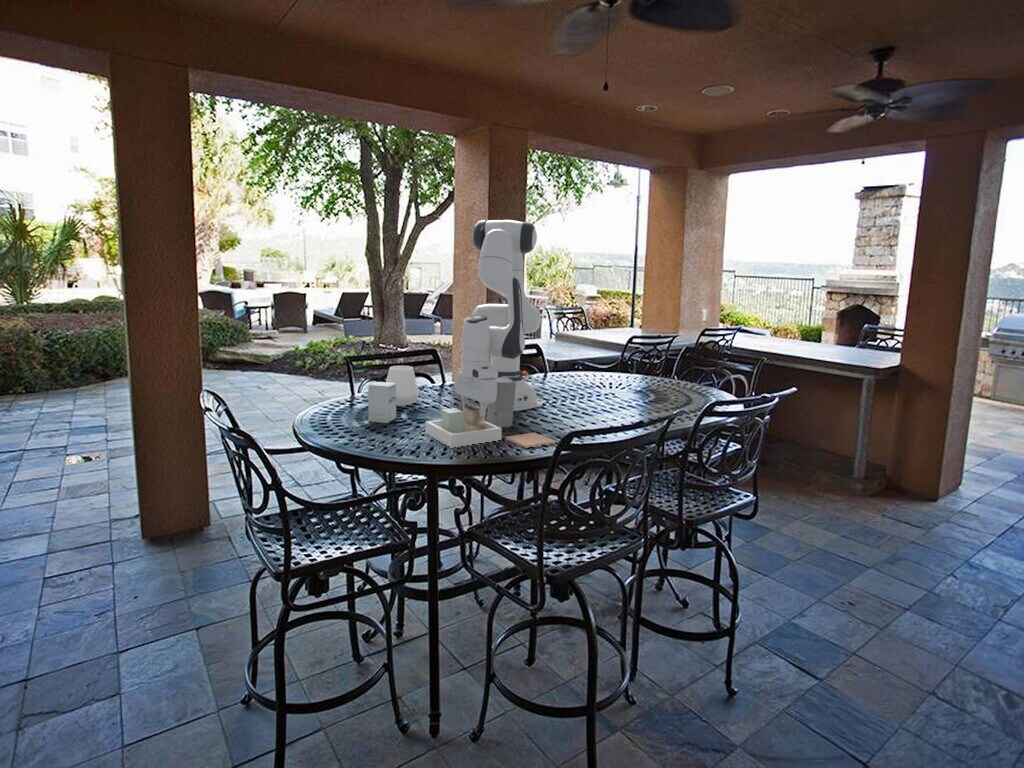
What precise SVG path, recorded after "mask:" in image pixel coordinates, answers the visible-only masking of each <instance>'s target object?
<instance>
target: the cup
mask: <svg viewBox="0 0 1024 768" xmlns="http://www.w3.org/2000/svg"><path fill="white" fill-rule="evenodd" d="M385 381H386V382H390V383H396V405H397V406H396V407H406V405H409V406H412V405H414V404H413V403H415V402H416V400H417V399H418V397H419V394H420V392H419V387H418V386H419V385H418V382H417V378H416V375H415V372H414V368H413V366H410V365H393V366H390V367H389V369H388V373H387V377H386V380H385ZM411 404H412V405H411Z"/></svg>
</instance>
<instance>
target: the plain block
mask: <svg viewBox="0 0 1024 768" xmlns="http://www.w3.org/2000/svg"><path fill="white" fill-rule="evenodd" d="M440 420H441V428H443V429H445V430H447V431H449V432H451V433H453V434H454V433H461V432H463V426H464V411H463V410H462V409H459V408H457V407H453V408H444V409H441V419H440Z"/></svg>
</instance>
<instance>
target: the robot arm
mask: <svg viewBox="0 0 1024 768" xmlns="http://www.w3.org/2000/svg"><path fill="white" fill-rule="evenodd" d="M471 234H472V237H471V238H472V241H473V242H472V243H473V246H474V247H475V248H476V249H477V250H479V251H480V252H479V253H480V254H479V259H478V265H477V276H478V279H479V280H480V282H481V283H482V284H483V286H484V287H486V288H488V289H489V290H490V291H491V292H494V293H497V294H498V295H500V296H502V297H503V298H505V299H507V303H483V304H478V305H477V306H476V307H475V308H474V309H473V312H472V313H471V316H466V317H465V318H464V320H463V323H462V329H461V340H460V341H461V342H460V343H461V350H462V352H461V353H462V354H461V356H460V365H459V367H458V368H457V371H456V373H455V377H454V393H455V394H457V395H460V398H461V402H462V408H463V407H466V406H471V404H470V402H469V399H471V400H474V401H476V402H479V405H480V406H479V407H480V410H478V415H479V416H485V417H486V411H487V410H488V404H491V403H495V401H496V398H497V381H496V379H495V378H497V377H507V378H509V379H511V380H512V381H514V382H516V389H515V399H514V410H513V412H519V411H525V410H530V409H534V408H540V407H543V402H541V401H539V400H537V399H538V398H537V392H536V389H535V388H534V387H533V386H532V385H530V384H529V383H528V382H527V381H525V380H524V378H523V377H525V378H526V377H527V378H528V371H526V370H523V371H522V370H521V369H520V365H521V364H520V361H521V359H520V358H521V355H522V354H523V353H524V351H525V347H526V339H525V334H531V333H535V332H537V331H538V329H539V328H540V326H541V323H542V315H541V312H540V311H539V309H538V308H537V307H536V306H535V305H533V303H532V302H531V301H530V300H529V299H528V297H527V295H526V291H525V287H524V256H525V255H526V254H528V253H530V252H531V251H533V250H534V249H535V246H536V245H537V240H538V238H537V237H538V234H537V231H536V227H535V226H534V224H533V223H532V222H528V221H521V220H520V221H518V220H512V219H491V220H488V219H481V220H478V221H477V222H476V223H475V225H474V226H473V230H472V233H471Z"/></svg>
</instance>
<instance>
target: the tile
mask: <svg viewBox="0 0 1024 768" xmlns="http://www.w3.org/2000/svg"><path fill="white" fill-rule="evenodd" d="M506 439H507V440H509V441H511V442H513V443H512V444H514V443H516V444H518V445H520V446H523V447H525V448H529V447H534V446H539V445H546V444H555V445H556V440H553V439H551V438H550V437H546V436H544V435H542V434H539V433H537V432H528V433H523V434H516V435H509V436H505V440H506ZM507 440H506V441H507ZM509 441H508V442H509ZM511 442H510V443H511ZM516 444H515V445H516ZM518 445H517V446H518ZM520 446H519V447H520ZM525 448H524V449H525Z"/></svg>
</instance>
